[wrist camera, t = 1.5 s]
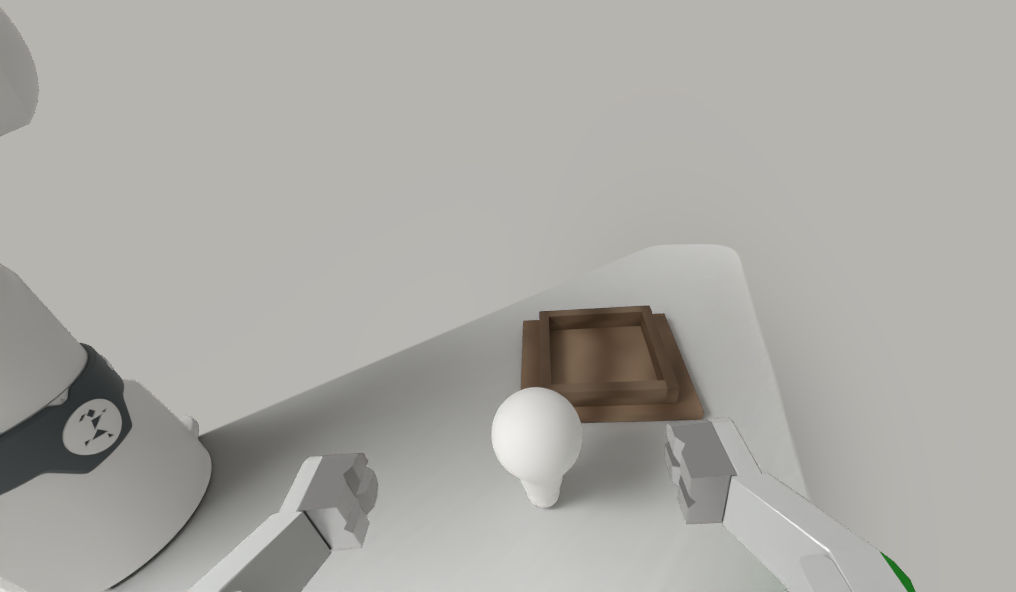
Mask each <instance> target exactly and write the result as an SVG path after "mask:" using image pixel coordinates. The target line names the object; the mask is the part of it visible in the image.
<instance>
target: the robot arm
mask: <svg viewBox="0 0 1016 592" xmlns="http://www.w3.org/2000/svg"><path fill="white" fill-rule="evenodd" d="M38 91H39V89H38V77H37V72H36V68H35V64H34V62H33V59H32V56H31V53H30V51H29V49H28V47H27V45H26V43H25V41H24V40H23V38H22V36H21V34H20V33H19V31H18V30H17V28H16V27H15V25H14V24H13V23H12V22H11V20H10V19H9V17H8V16H7V15H6V13H5V12H4V11H3V10H2V9H1V8H0V136H2V135H5V134H7V133H9V132H11V131H14V130H16V129H18V128H21V127H23V126H25V125H28V124H29V123H30V122H31V120H32V117H33V115H34V113H35V110H36V106H37V102H38ZM198 432H199V426H198V423H197V421H195V420H194V419H193V418H192V417H191V416H181V417H177V416H175V415H174V414H173V413H172V412H171V411H170V410H169V409H168V408H167V407H166V406H165V405H164V404H163V403H162V402H160V401H159V400H158V399H157V398H156V397H155V396H154V395H153V394H152V393H151V392H150V391H149V390H148V389H146V388H145V387H144V386H143V385H142V384H141V383H140V382H138V381H136V380H132V379H130V380H122V379H121V377H120V376H119V375H118V374H117V373H116V372H115V371H114V368H113V367H112V365H111V364H110V363H109V362H108V360H107V359H106V358H104V357H103V356H102V355H99V354H98V353H97V352H96V351H95V350H94V349H93V348H92V347H91V346H89V345H86V344H83V343H79V342H78V341H77V340H76V339H75V338H74V337H73V336H72V335H71V333H70V332H69V331H68V330H67V329H66V328H65V327H64V326H63V325H62V324H61V323H60V321H59V320H58V319H57V318H56V317H55V316H54V315H53V314H52V313H51V311H50V310H49V309H48V308H47V307H46V306H45V305H44V304H43V303H42V301H41V300H39V298H38V297H37V296H36V295H35V294H34V293H33V292H32V291H31V289H30V288H29V287H28V286H27V285H26V284H25V283H24V282H23V280H22V279H21V278H20V277H19V276H18V275H17V274H16V273H14V272H13V271H11V270H10V269H8V268H7V267H5V266H3V265H2V264H0V592H103V591H105V590H106V589H108V588H110V587H112V586H113V585H115V584H117V583H118V582H120V581H121V580H123V579H124V578H126V577H127V576H129V575H130V574H132V573H133V572H134V571H136V570H137V569H138V568H140V567H141V566H142V565H144V564H145V563H146V562H147V561H148V560H150V559H151V558H152V557H153V556H154V555H155V554H157V553H158V552H159V551H160V550H161V549H162V548H163V547H164V546H165V545H166V544H167V543H168V542H169V541H170V540H171V539H172V538H173V537H174V536H175V535H176V534H177V533H178V531H179V530H180V529H181V528H182V527H183V526H184V524H185V523H186V522H187V521H188V519H189V518H190V517H191V515H192V514H193V512H194V511H195V509H196V508H197V506H198V505H199V503H200V501H201V499H202V497H203V495H204V493H205V491H206V489H207V486H208V483H209V480H210V476H211V469H212V464H211V458H210V455H209V453H208V451H207V450H206V448H205V447H204V446H203V445H202V444H201V443H200V441H199V439H198V434H199V433H198ZM666 435H667V438H668V442H667V443H666V444H665V457H666V464H667V468H668V472H669V475H670V478H671V481H672V483H674V484H675V485H676V486H677V487H678V501H679V504H680V507H681V510H682V513H683V516H684V518H685V521H686V524H703V523H723V525H724V526H725V527H726V528H727V529H728V530H729V531H730V532H731V533H732V534H733V535H734V536H735V537H736V538H737V539H738V540H739V541H740V542H741V543H742V544H743V545H744V546H745V547H746V548H747V549H748V550H749V551H750V552H751V553H752V554H753V555H754V556H755V557H756V558H757V559H758V560H759V561H760V562H761V563H762V564H763V565H764V566H765V567H766V568H767V569H768V570H769V571H770V572H771V573H772V574H773V575H774V576H775V577H776V578H777V579H778V580H779V581H780V582H781V583H782V584H783V585H784V586H785V587H786V588H787V589H788V592H907V590H906V589H905V587H904V586H903V585H902V583H901V582H900V580H899V579H898V577H897V576H896V574H895V573H894V572H893V570H892V569H891V567H890V566H889V564H888V563H887V562H886V560H885V559H884V557H883V556H882V554H881V553H880V551H879V550H878V549H877V548H875V547H874V546H872V545H871V544H869V543H868V542H866V541H865V540H864V539H862V538H861V537H859V536H858V535H856V534H855V533H854V532H852V531H851V530H849V529H848V528H846V527H845V526H844V525H842V524H841V523H839V522H838V521H836V520H835V519H834V518H832V517H831V516H829V515H828V514H826V513H825V512H824V511H822V510H821V509H819V508H818V507H816V506H815V505H813V504H812V503H811V502H809V501H808V500H806V499H805V498H803V497H802V496H801V495H799V494H798V493H796V492H795V491H793V490H792V489H791V488H789V487H788V486H786V485H785V484H783V483H782V482H781V481H779V480H778V479H776V478H775V477H773V476H772V475H770V474H769V473H767V474H762V472H761V470H760V469H759V467H758V465H757V463H756V461H755V460H754V458H753V456H752V454H751V453H750V451H749V449H748V447H747V445H746V444H745V442H744V440H743V438H742V437H741V435H740V433H739V431H738V429H737V428H736V426H735V424H734V422H733V421H732V420H731V419H730V418H729V417H728V418H717V419H708V420H707V419H703V420H693V421H684V422H675V423H668V424H667V426H666ZM367 462H368V460H367V458H366V456H365V454H364V453H354V454H339V455H325V456H313V457H308V458H307V459H306V460H305V461H304V462H303V464H302V466H301V468H300V470H299V472H298V474H297V476H296V478H295V480H294V482H293V484H292V486H291V488H290V490H289V492H288V494H287V496H286V498H285V500H284V502H283V504H282V506H281V508H280V510H279V512H278V513H276V514H272V515H271V516H270V517H269V518H268V519H267V520H265V521H264V522H263V523H262V524H261V525H260V526H259V527H258V528H257V529H255V530H254V531H253V532H252V533H251V534H250V535H249V536H248V537H247V538H245V539H244V540H243V541H242V542H241V543H240V544H239V545H238V546H237V547H235V548H234V549H233V550H232V551H231V552H230V553H229V554H228V555H227V556H225V557H224V558H223V559H222V560H221V561H220V562H219V563H218V564H216V565H215V566H214V567H213V568H212V569H211V570H210V571H209V572H208V573H206V574H205V575H204V576H203V577H202V578H201V579H200V580H199V581H198V582H196V583H195V584H194V585H193V586H192V587H191V588H190V589H189V590H188V591H186V592H301V591H302V589H303V588H304V587H305V586H306V584H307V583H308V582H309V581H310V579H311V578H312V577H313V575H314V574H315V573H316V572H317V570H318V569H319V568H320V567H321V565H322V564H323V563H324V562H325V560H326V559H327V558H328V556H329V555H330V554H331V551H332V550H342V549H352V548H362V546H363V543H364V539H365V536H366V533H367V529H368V526H369V523H370V522H369V520H368V517H367V514H368V513H369V512H370V510H371V509H372V508H373V507H374V506H375V502H376V499H377V491H378V483H377V478H376V475H375V473H374V471H373V470H371V469H369V468H368V467H366V465H367Z"/></svg>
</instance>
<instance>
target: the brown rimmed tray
mask: <svg viewBox="0 0 1016 592" xmlns="http://www.w3.org/2000/svg"><path fill="white" fill-rule="evenodd" d="M539 317H540V320H530V321H523V347H522V374H521V390H523V389H526V388H531V387H540V388H546V389H550V390H553V391H555V392H557V393H559V394H560V395H562V396H563V397H565V398H566V399H567V400H568V401H569V402H570V403H571V404H572V406H573V407H574V409H575V410H576V412H577V414H578V416H579V419H580V422H581V423H594V422H631V421H668V420H702V418H703V414H704V411H703V409H702V406H701V404H700V401H699V399H698V396H697V394H696V391H695V389H694V386H693V384H692V381H691V379H690V376H689V374H688V371H687V369H686V366H685V364H684V361H683V359H682V357H681V354H680V352H679V349H678V347H677V344H676V342H675V339H674V337H673V334H672V332H671V329H670V327H669V324H668V322H667V319H666V317H665V314H664V313H663V314H652V311H651V309H650V306H631V307H613V308H595V309H577V310H559V311H540V312H539Z"/></svg>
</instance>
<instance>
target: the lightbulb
mask: <svg viewBox="0 0 1016 592" xmlns="http://www.w3.org/2000/svg"><path fill="white" fill-rule="evenodd" d="M491 438H492V444H493V449H494V452H495V454H496V456H497V458H498V460H499V461H500V463H501V464H502V465H503V467H504V468H505V469H506V470H507V471H508V472H510V473H511V474H512V475H514V476H516V477H517V478H519V479H520V480H521V483H522V485H523V487H524V488H525V490H526V493H527V496H528V498H529V500H530V502H531V503H532V504H533V505H535V506H537V507H540V508H547V507H550V506H552V505H553V504H555V503H556V502H557V500H558V498H559V494H560V486H561V483H562V479H563V475H564V474H565V473H566V472H567V471H568V470H569V469H570V468H571V467H572V466H573V465H574V463H575V461H576V460H577V458H578V455H579V453H580V450H581V447H582V440H583V431H582V425H581V422H580V419H579V416H578V414H577V412H576V410H575V409H574V407H573V406H572V404H571V403H570V402H569V401H568V400H567V399H566V398H565V397H563V396H562V395H560V394H559V393H557V392H555V391H553V390H550V389H546V388H540V387H531V388H526V389H523V390H520V391H517V392H516V393H514V394H512V395H511V396H509V397H508V398H507V399H506V400H505V401H504V402H503V403H502V404H501V406H500V407H499V408H498V410H497V412H496V414H495V417H494V420H493V424H492V434H491Z"/></svg>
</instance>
